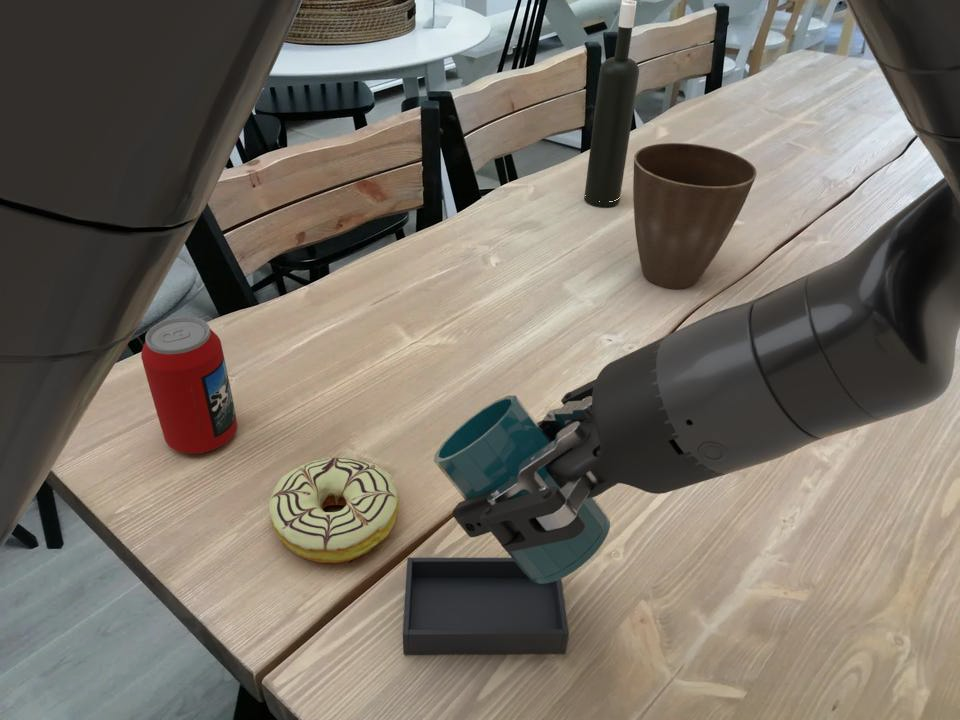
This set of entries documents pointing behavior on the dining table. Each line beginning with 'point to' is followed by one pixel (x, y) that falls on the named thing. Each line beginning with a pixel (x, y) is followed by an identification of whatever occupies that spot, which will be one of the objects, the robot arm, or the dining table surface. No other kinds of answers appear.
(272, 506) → the decorated donut
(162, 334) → the beverage can
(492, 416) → the cup
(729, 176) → the flower pot
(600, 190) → the wine bottle
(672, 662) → the dining table surface
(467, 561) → the tray
